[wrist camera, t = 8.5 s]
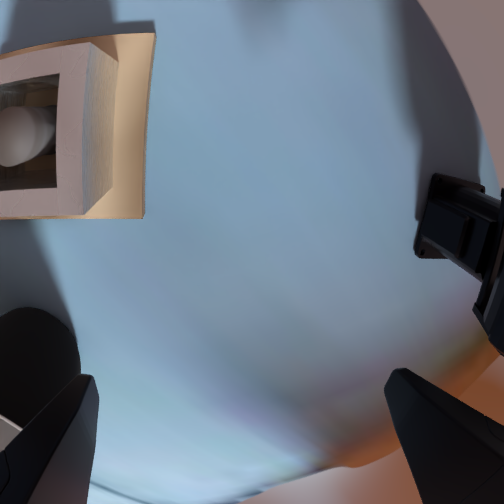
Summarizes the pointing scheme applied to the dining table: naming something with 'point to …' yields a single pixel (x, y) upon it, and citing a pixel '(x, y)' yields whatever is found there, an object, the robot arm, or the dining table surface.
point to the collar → (63, 130)
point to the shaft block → (125, 126)
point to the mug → (32, 366)
